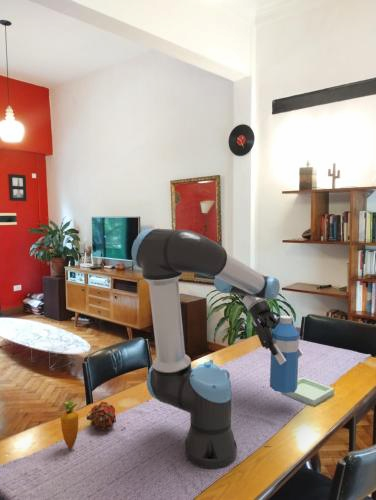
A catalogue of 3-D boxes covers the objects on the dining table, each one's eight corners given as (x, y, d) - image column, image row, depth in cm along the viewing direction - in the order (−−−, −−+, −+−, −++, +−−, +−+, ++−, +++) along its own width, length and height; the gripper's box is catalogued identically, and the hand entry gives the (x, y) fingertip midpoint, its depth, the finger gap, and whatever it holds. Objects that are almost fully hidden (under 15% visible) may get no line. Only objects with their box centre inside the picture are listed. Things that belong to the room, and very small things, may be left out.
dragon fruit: (107, 442, 122) (95, 429, 132) (126, 419, 125) (114, 409, 136) (89, 424, 119) (79, 412, 130) (110, 401, 123) (98, 392, 133)
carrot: (72, 441, 119) (71, 394, 118) (82, 448, 116) (81, 399, 114) (58, 449, 115) (56, 400, 114) (68, 456, 112) (66, 405, 111)
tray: (313, 407, 140) (313, 400, 140) (280, 393, 150) (281, 387, 150) (334, 395, 149) (334, 388, 149) (301, 382, 160) (302, 377, 159)
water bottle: (294, 382, 142) (297, 314, 140) (299, 393, 132) (302, 321, 130) (268, 381, 143) (270, 313, 141) (271, 392, 133) (273, 320, 131)
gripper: (269, 307, 154) (303, 357, 144) (230, 315, 140) (265, 372, 129) (281, 295, 150) (317, 347, 139) (242, 303, 136) (279, 361, 125)
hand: (292, 359), depth 134 cm, fingers closed on water bottle, 9 cm apart
